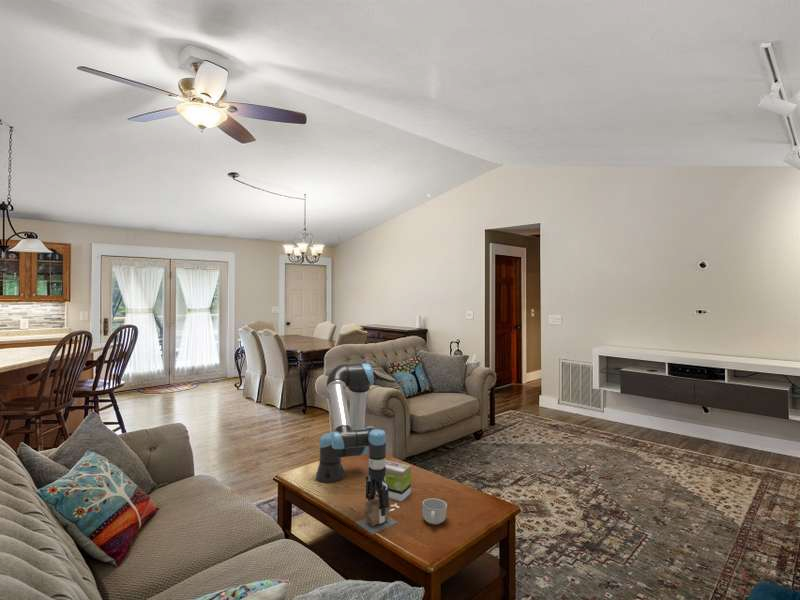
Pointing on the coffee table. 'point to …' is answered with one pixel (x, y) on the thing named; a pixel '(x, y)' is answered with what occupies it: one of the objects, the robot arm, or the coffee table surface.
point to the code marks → (395, 506)
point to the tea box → (398, 480)
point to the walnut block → (374, 511)
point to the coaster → (377, 527)
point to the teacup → (434, 510)
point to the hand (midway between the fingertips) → (376, 519)
